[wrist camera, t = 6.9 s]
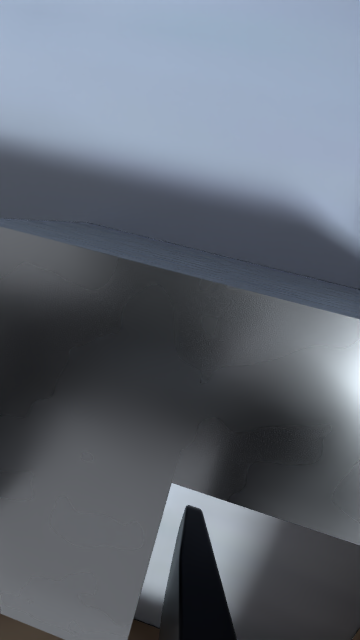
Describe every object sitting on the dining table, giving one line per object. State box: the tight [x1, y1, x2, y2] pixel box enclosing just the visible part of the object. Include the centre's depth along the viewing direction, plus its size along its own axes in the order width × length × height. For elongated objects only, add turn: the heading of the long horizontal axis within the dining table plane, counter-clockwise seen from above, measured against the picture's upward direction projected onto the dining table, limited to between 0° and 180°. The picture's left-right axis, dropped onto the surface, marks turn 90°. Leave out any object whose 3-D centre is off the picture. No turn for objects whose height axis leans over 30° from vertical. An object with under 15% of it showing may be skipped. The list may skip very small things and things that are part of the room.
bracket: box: [0, 218, 360, 640], centre depth 7 cm, size 9×9×4 cm
